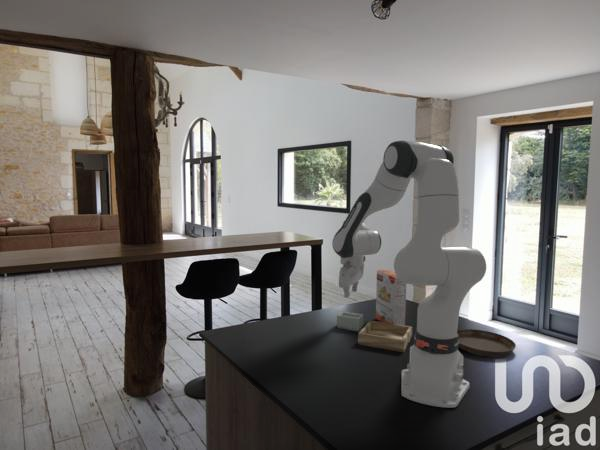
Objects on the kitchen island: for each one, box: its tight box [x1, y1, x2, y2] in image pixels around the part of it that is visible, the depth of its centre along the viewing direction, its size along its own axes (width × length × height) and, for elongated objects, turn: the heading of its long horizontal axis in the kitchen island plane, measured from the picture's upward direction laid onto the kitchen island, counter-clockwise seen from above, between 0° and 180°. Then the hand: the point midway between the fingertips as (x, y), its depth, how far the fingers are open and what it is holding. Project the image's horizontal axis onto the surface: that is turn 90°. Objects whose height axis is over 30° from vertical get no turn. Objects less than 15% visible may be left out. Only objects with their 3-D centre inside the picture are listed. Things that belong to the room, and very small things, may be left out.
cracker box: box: [375, 269, 407, 326], centre depth 170 cm, size 14×6×21 cm, turn 19°
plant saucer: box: [457, 328, 517, 358], centre depth 147 cm, size 21×21×3 cm
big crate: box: [357, 320, 413, 353], centre depth 152 cm, size 16×16×4 cm
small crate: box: [336, 311, 364, 332], centre depth 166 cm, size 6×9×5 cm, turn 65°
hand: (350, 294), depth 165 cm, fingers open, 8 cm apart
